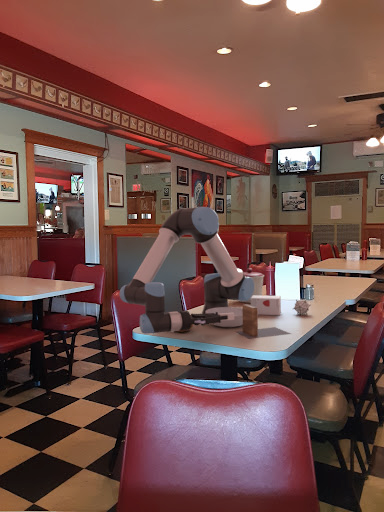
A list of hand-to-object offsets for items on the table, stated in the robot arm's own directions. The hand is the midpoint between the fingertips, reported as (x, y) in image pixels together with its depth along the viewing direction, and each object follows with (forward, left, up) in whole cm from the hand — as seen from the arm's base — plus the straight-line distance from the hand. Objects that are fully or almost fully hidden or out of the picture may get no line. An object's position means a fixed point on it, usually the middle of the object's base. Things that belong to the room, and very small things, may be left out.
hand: (233, 316), depth 168 cm
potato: (-24, +8, -9) cm, 27 cm away
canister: (+4, +87, -9) cm, 87 cm away
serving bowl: (-4, +20, -9) cm, 23 cm away
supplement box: (+6, +51, -4) cm, 52 cm away
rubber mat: (+12, +7, -9) cm, 16 cm away
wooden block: (+7, +4, -8) cm, 11 cm away
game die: (+32, +49, -9) cm, 59 cm away
